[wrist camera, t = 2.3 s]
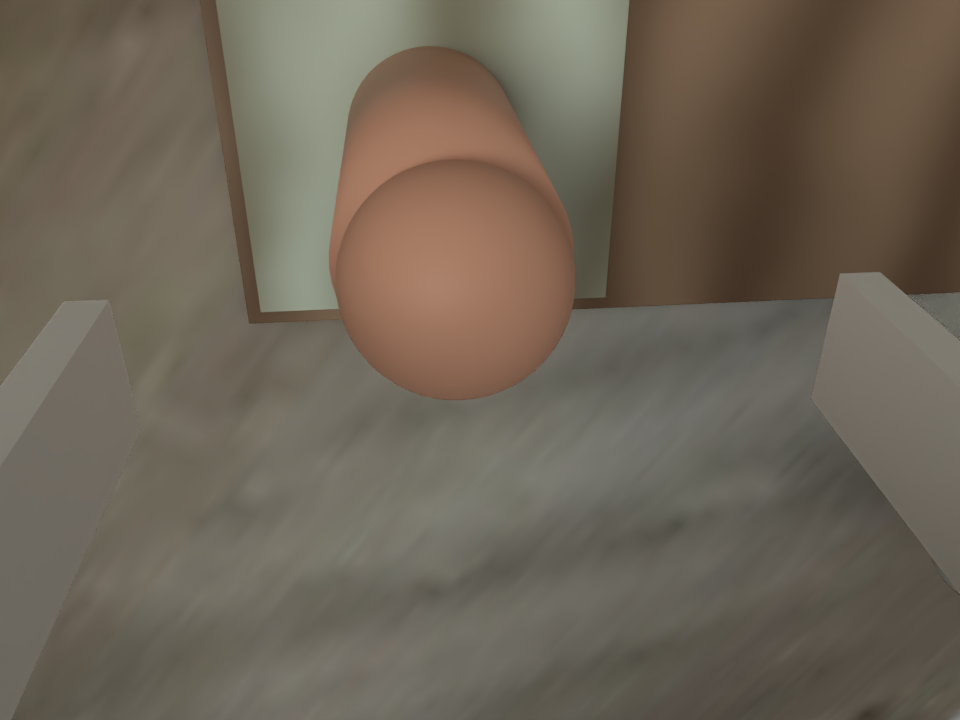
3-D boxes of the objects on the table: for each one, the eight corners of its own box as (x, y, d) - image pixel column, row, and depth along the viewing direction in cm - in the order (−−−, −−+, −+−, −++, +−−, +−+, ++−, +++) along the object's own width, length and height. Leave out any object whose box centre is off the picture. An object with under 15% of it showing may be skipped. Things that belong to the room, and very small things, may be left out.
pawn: (353, 213, 30) (331, 463, 18) (340, 47, 27) (302, 203, 15) (511, 208, 31) (599, 447, 18) (514, 44, 28) (619, 193, 15)
